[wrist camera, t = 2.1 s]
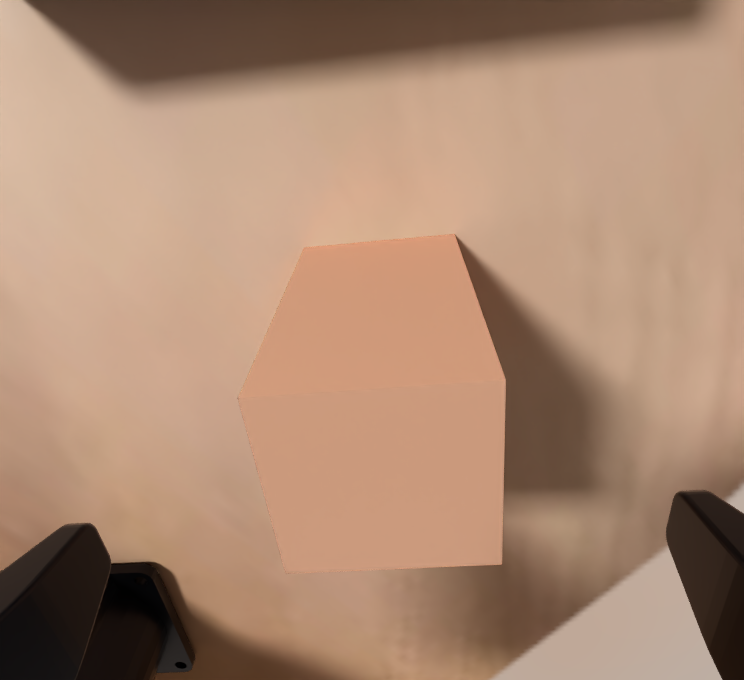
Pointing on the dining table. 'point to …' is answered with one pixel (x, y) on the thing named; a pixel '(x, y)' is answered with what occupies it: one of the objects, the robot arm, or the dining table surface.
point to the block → (380, 412)
